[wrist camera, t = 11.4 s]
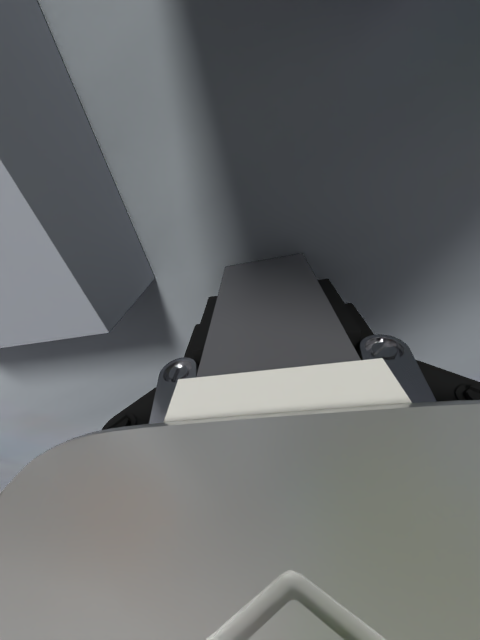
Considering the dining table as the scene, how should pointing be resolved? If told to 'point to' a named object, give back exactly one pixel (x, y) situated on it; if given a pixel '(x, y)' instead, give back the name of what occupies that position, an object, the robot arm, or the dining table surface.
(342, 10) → the dining table surface
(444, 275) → the dining table surface
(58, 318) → the socket block
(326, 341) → the plug
